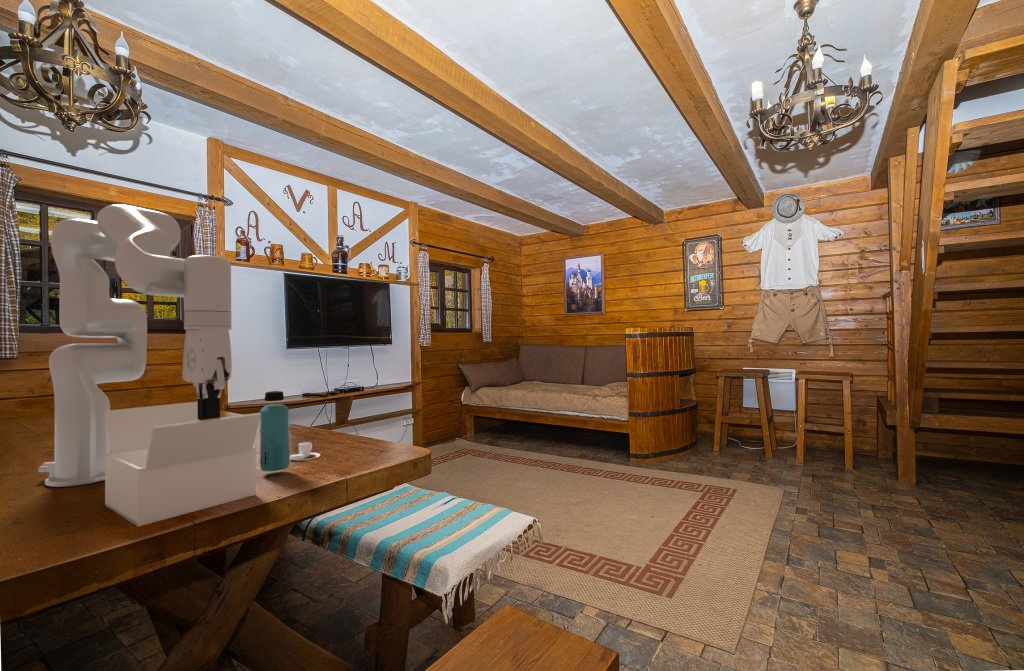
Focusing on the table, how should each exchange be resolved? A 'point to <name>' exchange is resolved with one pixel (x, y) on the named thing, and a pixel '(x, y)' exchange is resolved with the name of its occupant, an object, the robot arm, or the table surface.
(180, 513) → the carton
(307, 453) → the teacup and saucer
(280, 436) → the beverage bottle
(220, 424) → the near flap
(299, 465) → the table surface
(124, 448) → the far flap
